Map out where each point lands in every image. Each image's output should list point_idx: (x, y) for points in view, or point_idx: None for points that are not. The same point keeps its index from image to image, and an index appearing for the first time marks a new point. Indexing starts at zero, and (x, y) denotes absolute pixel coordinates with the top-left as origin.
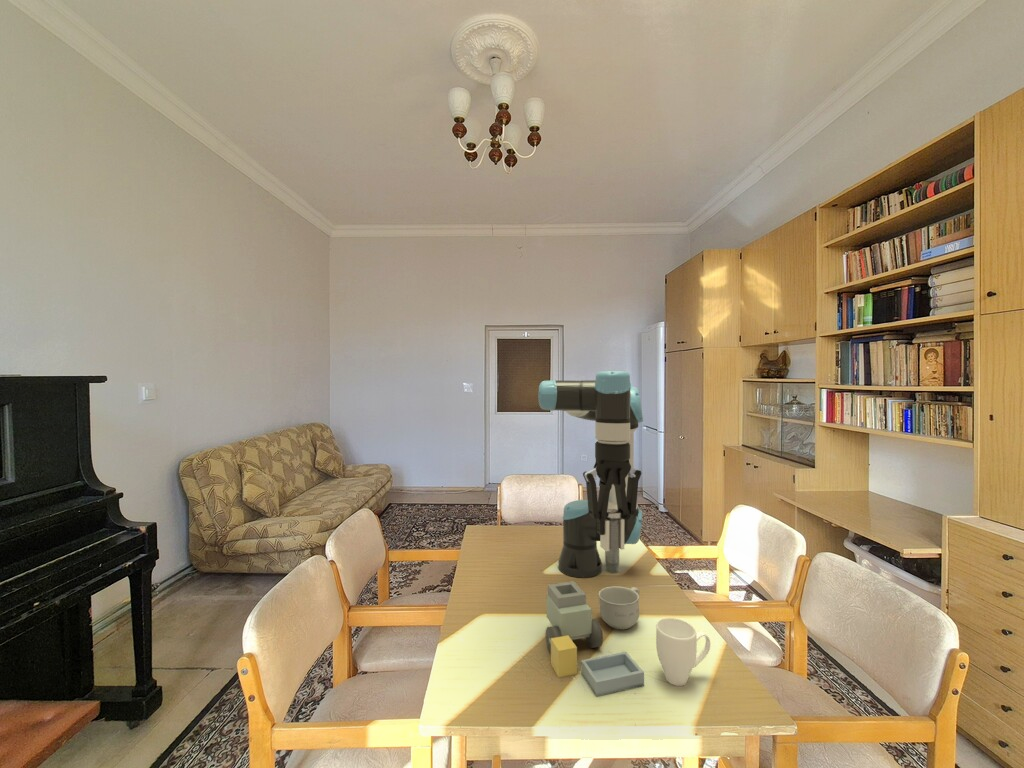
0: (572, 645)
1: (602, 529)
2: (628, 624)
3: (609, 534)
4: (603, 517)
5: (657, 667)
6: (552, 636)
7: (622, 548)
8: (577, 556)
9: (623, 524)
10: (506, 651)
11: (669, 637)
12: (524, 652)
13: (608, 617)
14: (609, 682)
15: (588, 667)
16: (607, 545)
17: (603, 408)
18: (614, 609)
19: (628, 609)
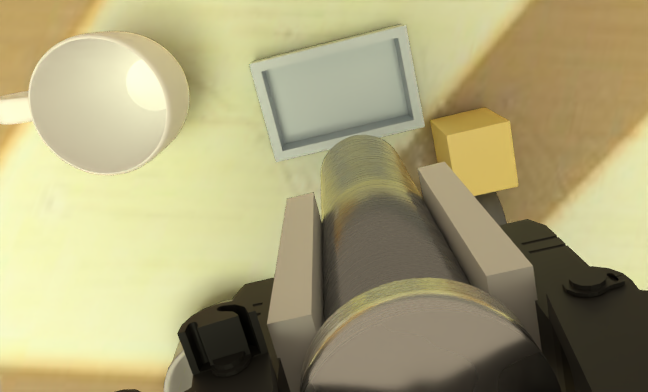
0: (457, 146)
1: (530, 244)
2: (226, 301)
3: (435, 232)
4: (601, 282)
5: (190, 136)
6: (502, 210)
7: (302, 197)
8: None
9: (283, 288)
10: (608, 221)
11: (142, 55)
12: (557, 215)
13: None
14: (362, 35)
15: (411, 92)
16: (443, 177)
17: None
18: None
19: None
